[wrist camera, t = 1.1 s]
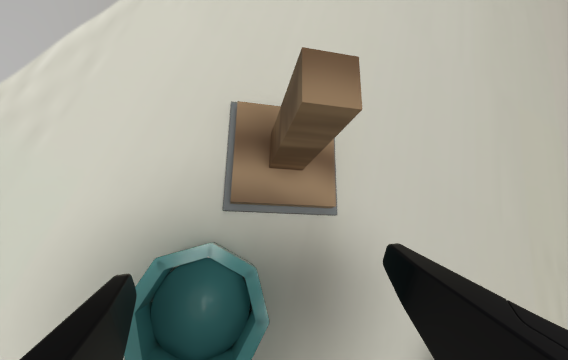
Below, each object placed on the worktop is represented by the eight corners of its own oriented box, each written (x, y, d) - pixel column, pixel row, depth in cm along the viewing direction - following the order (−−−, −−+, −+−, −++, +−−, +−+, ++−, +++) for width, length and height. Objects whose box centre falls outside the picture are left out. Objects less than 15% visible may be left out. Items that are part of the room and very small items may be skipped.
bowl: (271, 343, 20) (279, 363, 17) (152, 391, 18) (134, 425, 14) (245, 233, 22) (247, 232, 18) (132, 265, 19) (111, 270, 16)
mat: (335, 215, 24) (337, 214, 23) (223, 210, 22) (222, 210, 21) (332, 115, 26) (333, 114, 26) (231, 103, 24) (231, 101, 24)
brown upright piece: (330, 208, 23) (425, 175, 12) (230, 203, 22) (228, 160, 10) (328, 118, 26) (406, 18, 14) (237, 107, 24) (241, -16, 12)
